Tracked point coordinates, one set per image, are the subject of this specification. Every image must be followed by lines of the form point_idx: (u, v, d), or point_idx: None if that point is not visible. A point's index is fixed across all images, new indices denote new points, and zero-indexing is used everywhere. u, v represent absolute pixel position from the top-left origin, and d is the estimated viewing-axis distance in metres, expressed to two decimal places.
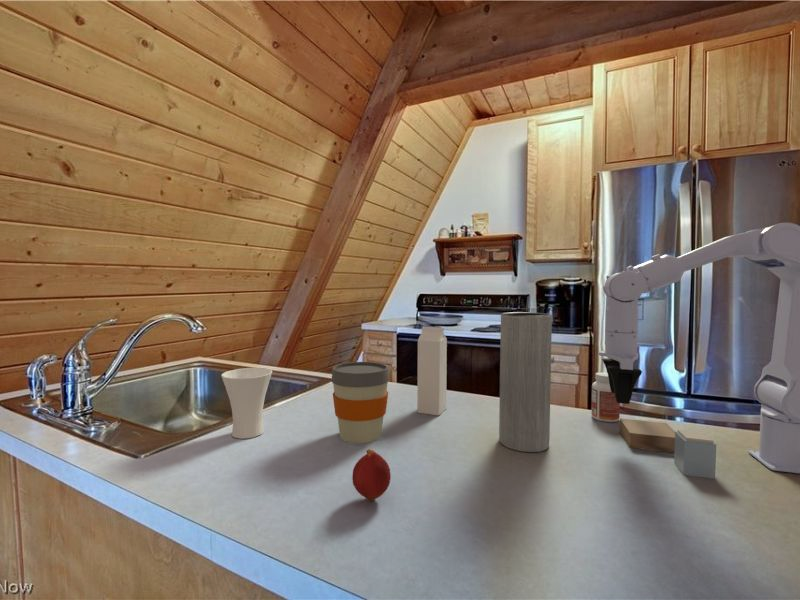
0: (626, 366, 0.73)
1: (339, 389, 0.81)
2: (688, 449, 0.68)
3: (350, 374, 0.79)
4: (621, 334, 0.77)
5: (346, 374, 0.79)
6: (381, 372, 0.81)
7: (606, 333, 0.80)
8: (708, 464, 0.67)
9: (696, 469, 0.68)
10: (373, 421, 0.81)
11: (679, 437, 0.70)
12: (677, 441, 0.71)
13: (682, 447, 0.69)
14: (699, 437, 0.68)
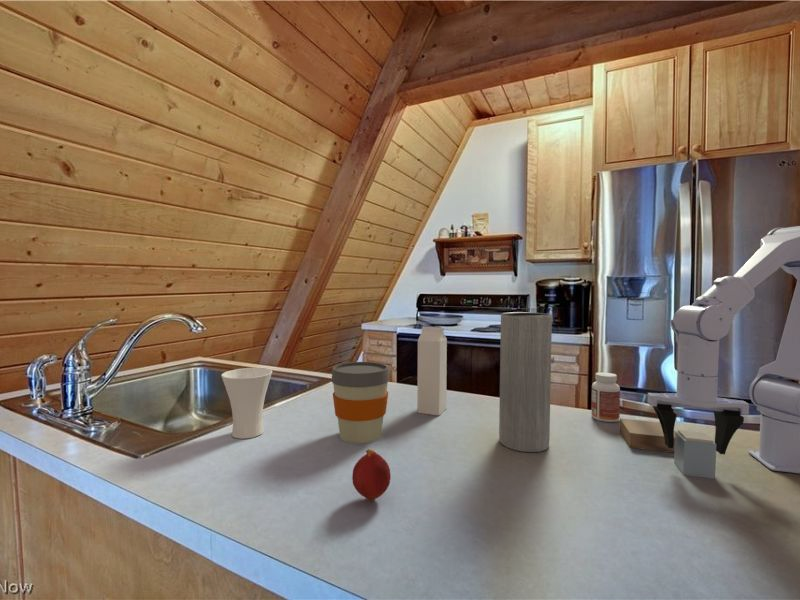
0: (648, 401, 0.72)
1: (339, 389, 0.81)
2: (688, 449, 0.68)
3: (350, 374, 0.79)
4: (677, 373, 0.70)
5: (346, 374, 0.79)
6: (381, 372, 0.81)
7: None
8: (708, 464, 0.67)
9: (696, 469, 0.68)
10: (373, 421, 0.81)
11: (679, 437, 0.70)
12: (677, 441, 0.71)
13: (682, 447, 0.69)
14: (699, 437, 0.68)
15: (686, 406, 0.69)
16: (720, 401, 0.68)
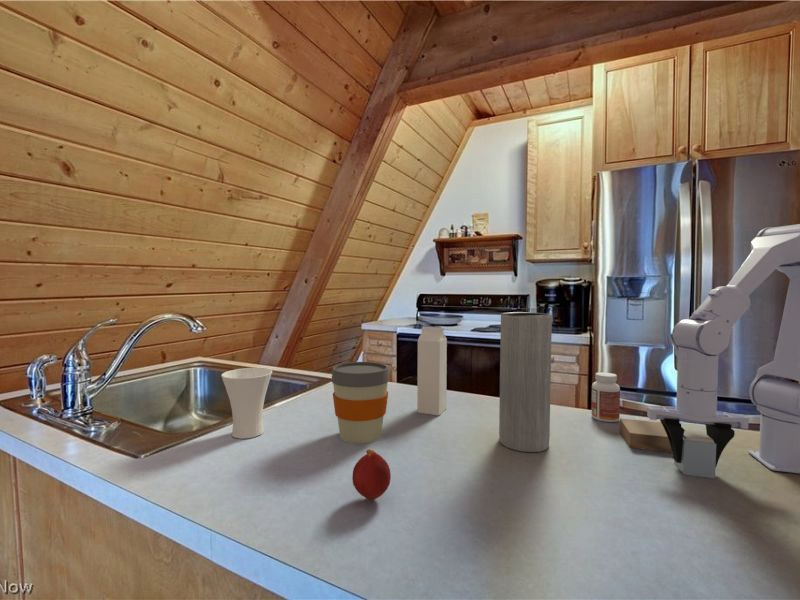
0: (648, 414, 0.72)
1: (339, 389, 0.81)
2: (688, 449, 0.68)
3: (350, 374, 0.79)
4: (677, 386, 0.70)
5: (346, 374, 0.79)
6: (381, 372, 0.81)
7: None
8: (708, 463, 0.67)
9: (696, 469, 0.68)
10: (373, 421, 0.81)
11: None
12: None
13: (682, 447, 0.69)
14: (699, 437, 0.68)
15: (686, 420, 0.70)
16: (720, 415, 0.68)
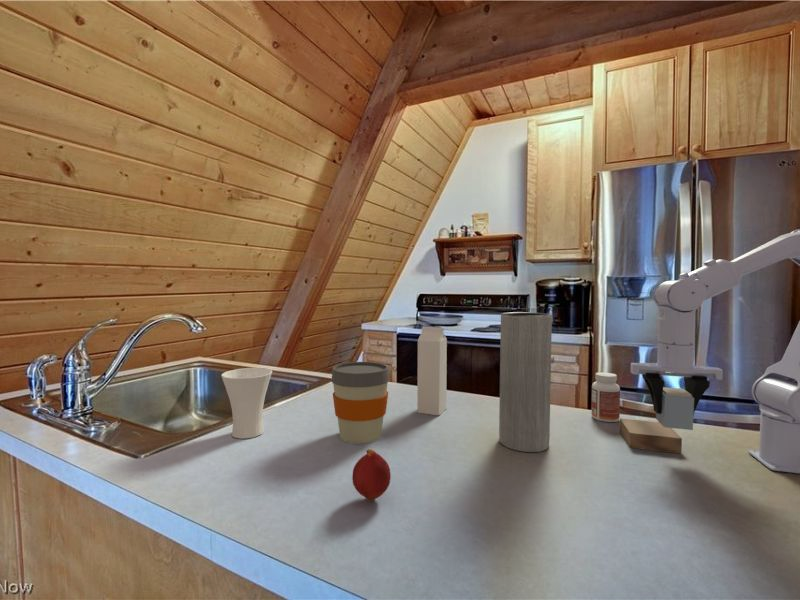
0: (631, 370, 0.77)
1: (339, 389, 0.81)
2: (668, 403, 0.73)
3: (350, 374, 0.79)
4: None
5: (346, 374, 0.79)
6: (381, 372, 0.81)
7: None
8: (686, 416, 0.72)
9: (675, 421, 0.73)
10: (373, 421, 0.81)
11: None
12: None
13: (663, 402, 0.74)
14: (679, 392, 0.73)
15: (666, 374, 0.75)
16: (697, 368, 0.73)
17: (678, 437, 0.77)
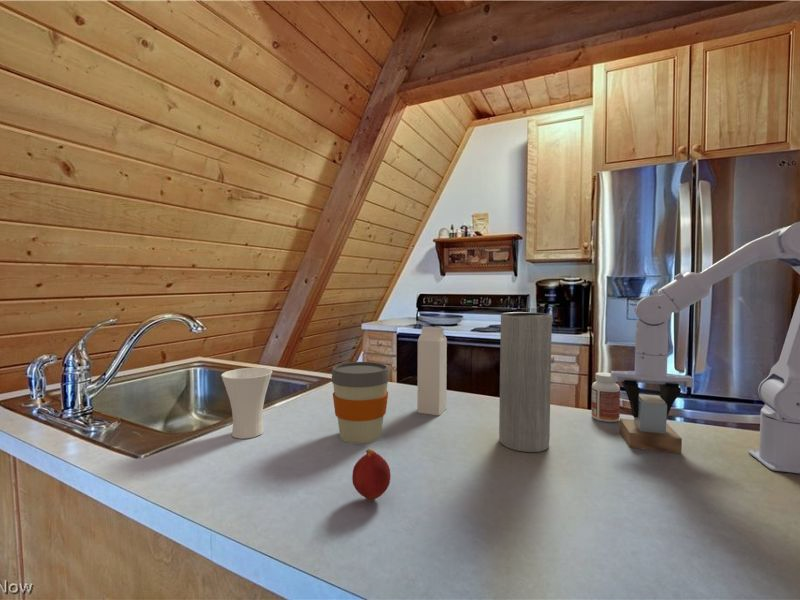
0: (611, 377, 0.84)
1: (339, 389, 0.81)
2: (644, 410, 0.80)
3: (350, 374, 0.79)
4: (635, 353, 0.83)
5: (346, 374, 0.79)
6: (381, 372, 0.81)
7: None
8: (660, 421, 0.79)
9: (650, 426, 0.80)
10: (373, 421, 0.81)
11: None
12: None
13: (639, 408, 0.81)
14: (654, 399, 0.80)
15: (642, 381, 0.82)
16: (670, 376, 0.81)
17: (678, 437, 0.77)
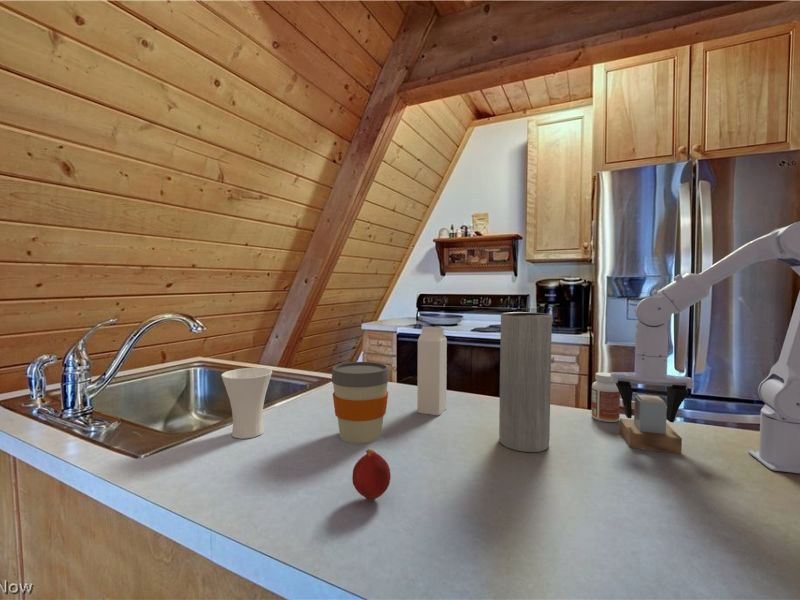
0: (611, 379, 0.84)
1: (339, 389, 0.81)
2: (643, 409, 0.80)
3: (350, 374, 0.79)
4: (635, 354, 0.83)
5: (346, 374, 0.79)
6: (381, 372, 0.81)
7: None
8: (660, 421, 0.79)
9: (650, 426, 0.80)
10: (373, 421, 0.81)
11: (637, 400, 0.82)
12: (636, 404, 0.83)
13: (639, 408, 0.81)
14: (653, 399, 0.80)
15: (642, 382, 0.82)
16: (670, 378, 0.81)
17: (678, 437, 0.77)
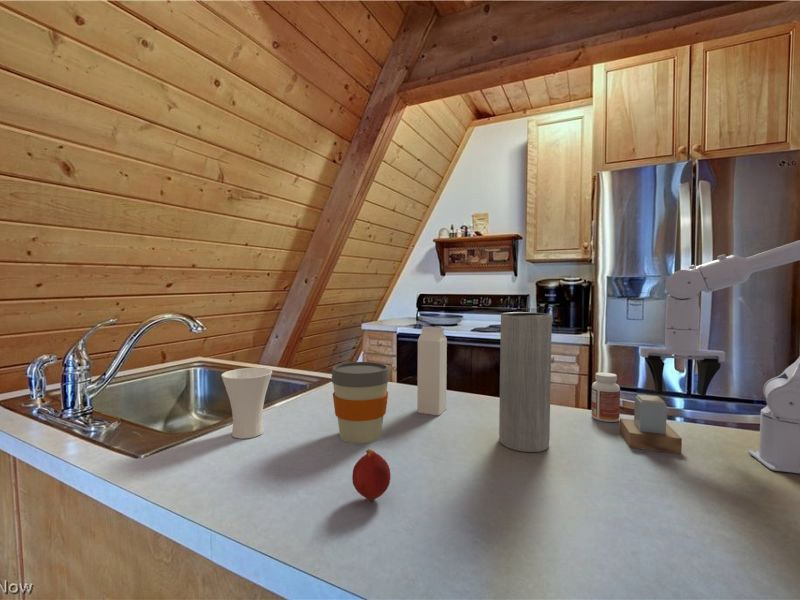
0: (641, 353, 0.84)
1: (339, 389, 0.81)
2: (643, 409, 0.80)
3: (350, 374, 0.79)
4: (665, 329, 0.83)
5: (346, 374, 0.79)
6: (381, 372, 0.81)
7: None
8: (660, 421, 0.79)
9: (650, 426, 0.80)
10: (373, 421, 0.81)
11: (637, 400, 0.82)
12: (636, 404, 0.83)
13: (639, 408, 0.81)
14: (653, 399, 0.80)
15: (673, 356, 0.82)
16: (701, 351, 0.80)
17: (678, 437, 0.77)
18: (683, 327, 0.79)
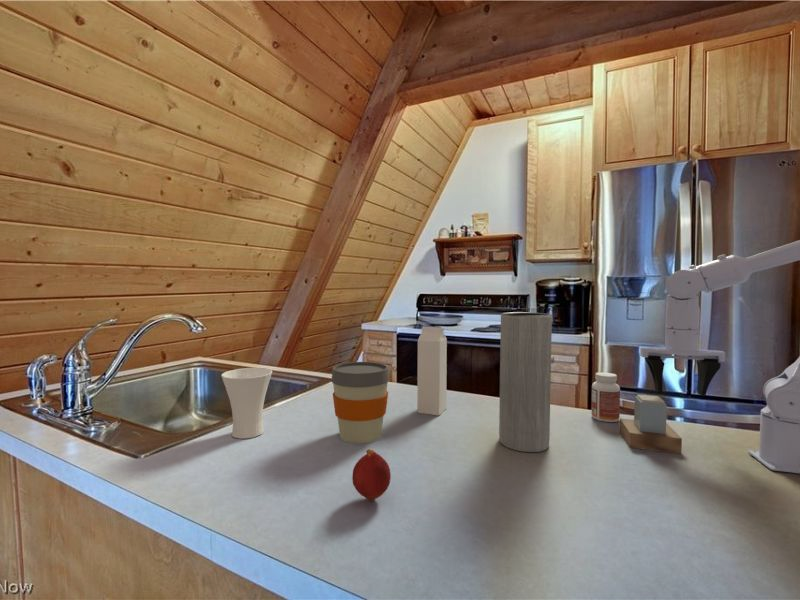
0: (641, 353, 0.84)
1: (339, 389, 0.81)
2: (643, 409, 0.80)
3: (350, 374, 0.79)
4: (665, 329, 0.83)
5: (346, 374, 0.79)
6: (381, 372, 0.81)
7: None
8: (660, 421, 0.79)
9: (650, 426, 0.80)
10: (373, 421, 0.81)
11: (637, 400, 0.82)
12: (636, 404, 0.83)
13: (639, 408, 0.81)
14: (653, 399, 0.80)
15: (673, 356, 0.82)
16: (701, 351, 0.80)
17: (678, 437, 0.77)
18: (683, 327, 0.79)
